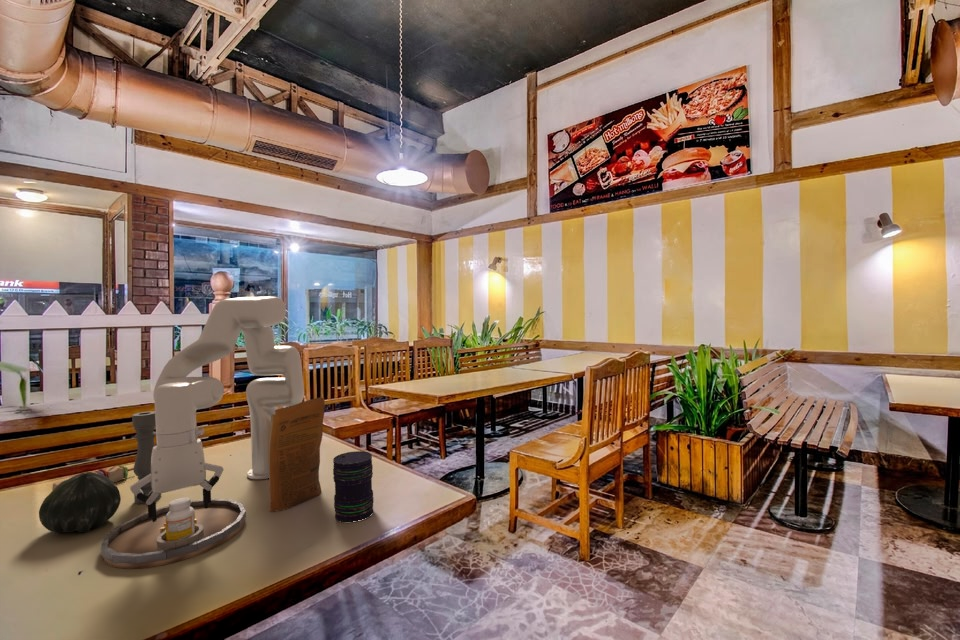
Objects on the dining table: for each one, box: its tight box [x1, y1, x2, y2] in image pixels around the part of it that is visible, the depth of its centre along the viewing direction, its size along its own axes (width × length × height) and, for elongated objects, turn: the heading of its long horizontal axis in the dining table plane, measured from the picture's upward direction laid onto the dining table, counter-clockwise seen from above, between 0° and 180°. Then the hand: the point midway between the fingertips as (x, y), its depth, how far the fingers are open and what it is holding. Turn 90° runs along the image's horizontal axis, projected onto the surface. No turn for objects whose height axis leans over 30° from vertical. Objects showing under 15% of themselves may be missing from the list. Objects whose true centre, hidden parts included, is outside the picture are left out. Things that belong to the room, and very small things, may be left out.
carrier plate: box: [102, 506, 246, 570], centre depth 106 cm, size 28×28×4 cm
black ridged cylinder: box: [332, 450, 375, 523], centre depth 114 cm, size 10×10×15 cm
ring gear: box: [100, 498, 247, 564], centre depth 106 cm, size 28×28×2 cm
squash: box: [38, 471, 122, 534], centre depth 111 cm, size 14×15×15 cm
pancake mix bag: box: [268, 396, 326, 512], centre depth 123 cm, size 7×19×28 cm, turn 148°
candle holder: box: [131, 410, 162, 505], centre depth 127 cm, size 6×6×25 cm
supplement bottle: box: [166, 496, 195, 541], centre depth 99 cm, size 5×5×10 cm
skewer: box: [51, 464, 134, 492], centre depth 139 cm, size 21×6×5 cm, turn 151°
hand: (180, 512), depth 99 cm, fingers open, 9 cm apart
